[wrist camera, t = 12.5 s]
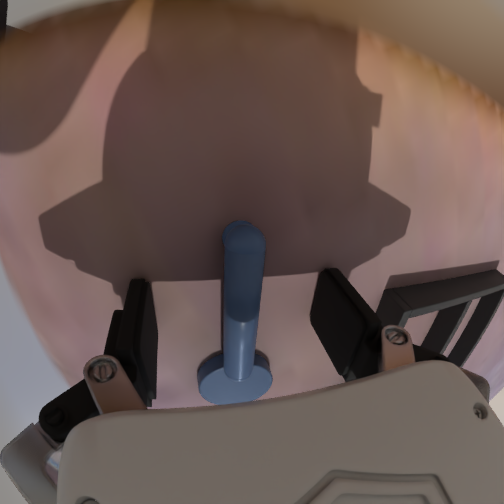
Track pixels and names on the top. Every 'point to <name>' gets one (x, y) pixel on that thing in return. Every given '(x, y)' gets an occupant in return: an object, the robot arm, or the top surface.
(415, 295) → the sorting tray
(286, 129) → the top surface
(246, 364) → the blue spoon
